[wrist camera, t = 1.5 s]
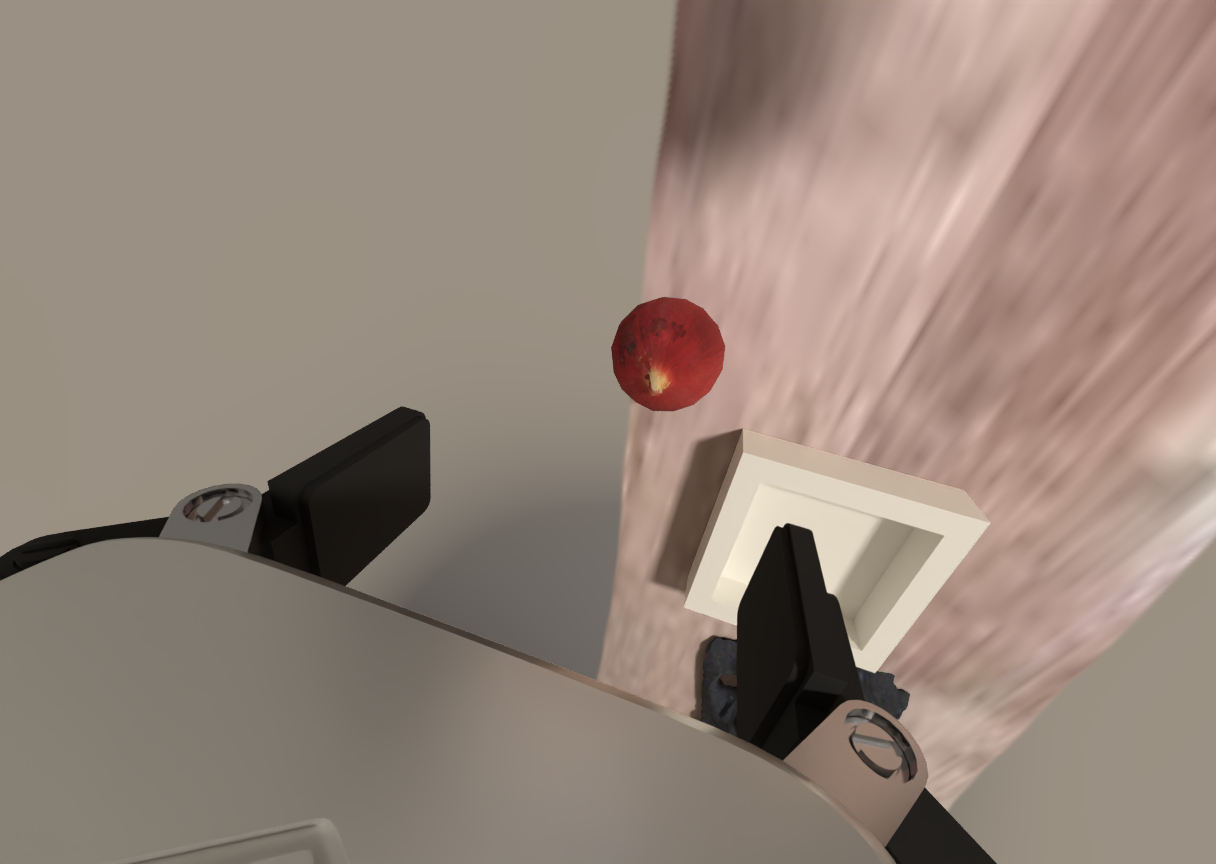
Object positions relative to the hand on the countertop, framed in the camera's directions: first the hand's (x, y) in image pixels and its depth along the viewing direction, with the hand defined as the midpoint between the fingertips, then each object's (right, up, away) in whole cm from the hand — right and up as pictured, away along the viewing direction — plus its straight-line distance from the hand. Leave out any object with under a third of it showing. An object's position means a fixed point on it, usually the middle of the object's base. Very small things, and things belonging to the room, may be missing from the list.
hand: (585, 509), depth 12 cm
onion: (+5, +8, +15) cm, 18 cm away
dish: (+14, -5, +19) cm, 24 cm away
